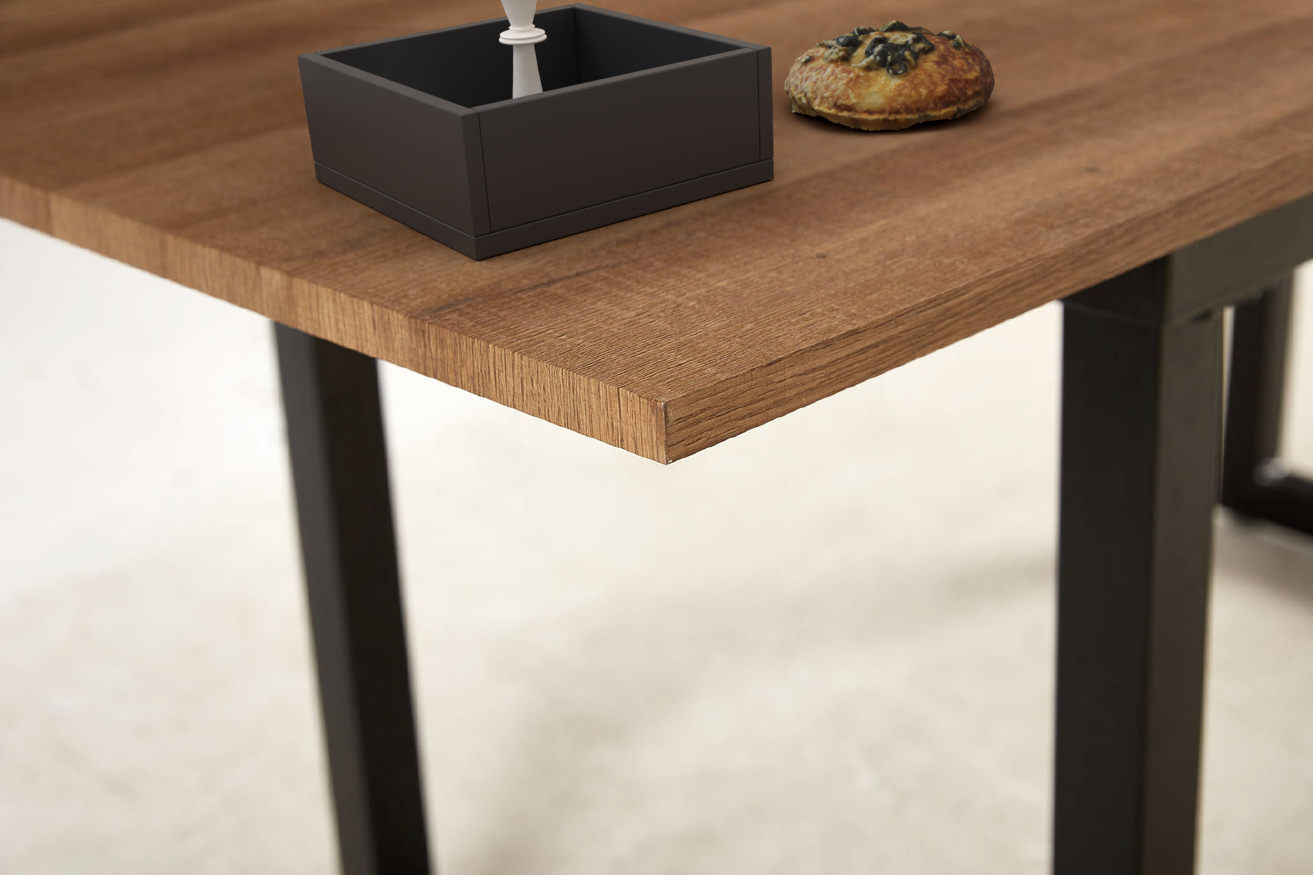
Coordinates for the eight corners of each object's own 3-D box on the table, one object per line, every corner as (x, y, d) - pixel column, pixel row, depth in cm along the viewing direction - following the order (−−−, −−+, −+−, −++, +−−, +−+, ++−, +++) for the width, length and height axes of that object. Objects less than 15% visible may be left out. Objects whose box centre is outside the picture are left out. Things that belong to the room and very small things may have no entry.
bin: (476, 261, 63) (460, 115, 60) (315, 180, 75) (296, 55, 72) (774, 179, 71) (772, 46, 68) (587, 117, 82) (578, 2, 80)
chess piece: (601, 145, 74) (585, -74, 69) (565, 176, 69) (545, -56, 65) (504, 142, 75) (483, -73, 71) (464, 172, 71) (438, -55, 66)
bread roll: (1037, 90, 81) (1032, -5, 79) (918, 170, 75) (908, 70, 72) (863, 73, 88) (853, -15, 86) (741, 145, 82) (726, 53, 80)
